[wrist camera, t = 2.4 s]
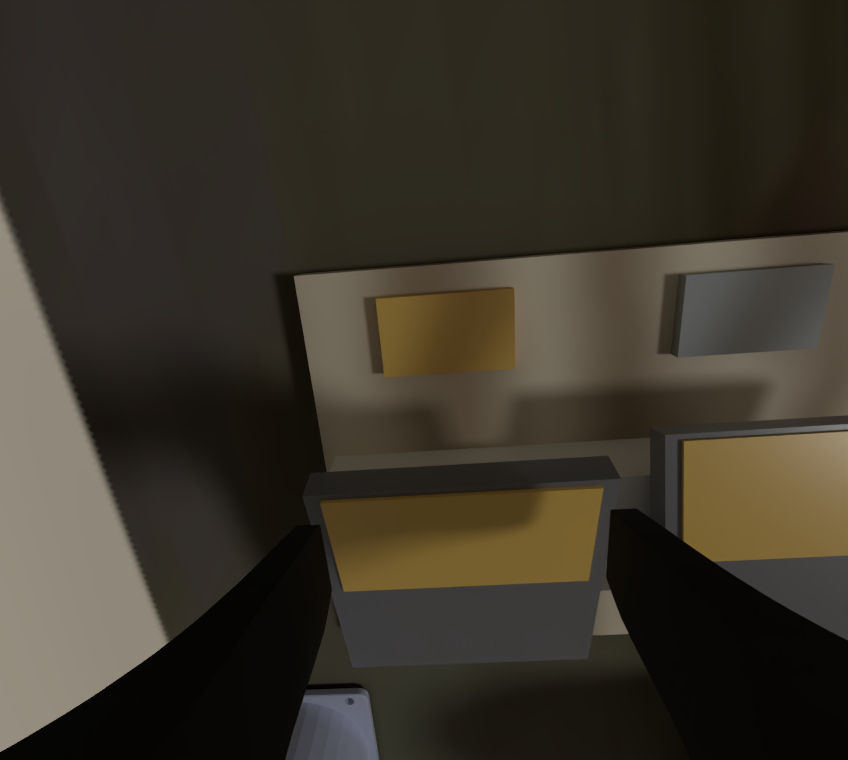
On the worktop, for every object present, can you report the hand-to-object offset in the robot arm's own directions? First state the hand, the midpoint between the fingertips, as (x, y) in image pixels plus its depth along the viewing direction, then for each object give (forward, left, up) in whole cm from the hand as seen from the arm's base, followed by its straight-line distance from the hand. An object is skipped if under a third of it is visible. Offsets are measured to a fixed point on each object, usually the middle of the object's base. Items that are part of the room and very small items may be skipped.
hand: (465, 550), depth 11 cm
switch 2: (+11, -4, -4) cm, 12 cm away
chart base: (+6, -3, -8) cm, 11 cm away
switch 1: (0, -4, -4) cm, 5 cm away
